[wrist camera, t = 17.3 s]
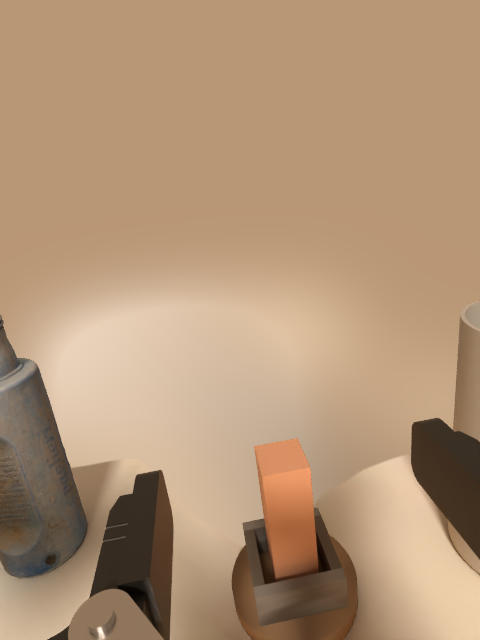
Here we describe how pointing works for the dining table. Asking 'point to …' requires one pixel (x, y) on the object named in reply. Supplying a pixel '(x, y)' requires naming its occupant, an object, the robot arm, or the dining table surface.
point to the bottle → (33, 474)
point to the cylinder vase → (468, 400)
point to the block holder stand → (294, 591)
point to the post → (287, 509)
